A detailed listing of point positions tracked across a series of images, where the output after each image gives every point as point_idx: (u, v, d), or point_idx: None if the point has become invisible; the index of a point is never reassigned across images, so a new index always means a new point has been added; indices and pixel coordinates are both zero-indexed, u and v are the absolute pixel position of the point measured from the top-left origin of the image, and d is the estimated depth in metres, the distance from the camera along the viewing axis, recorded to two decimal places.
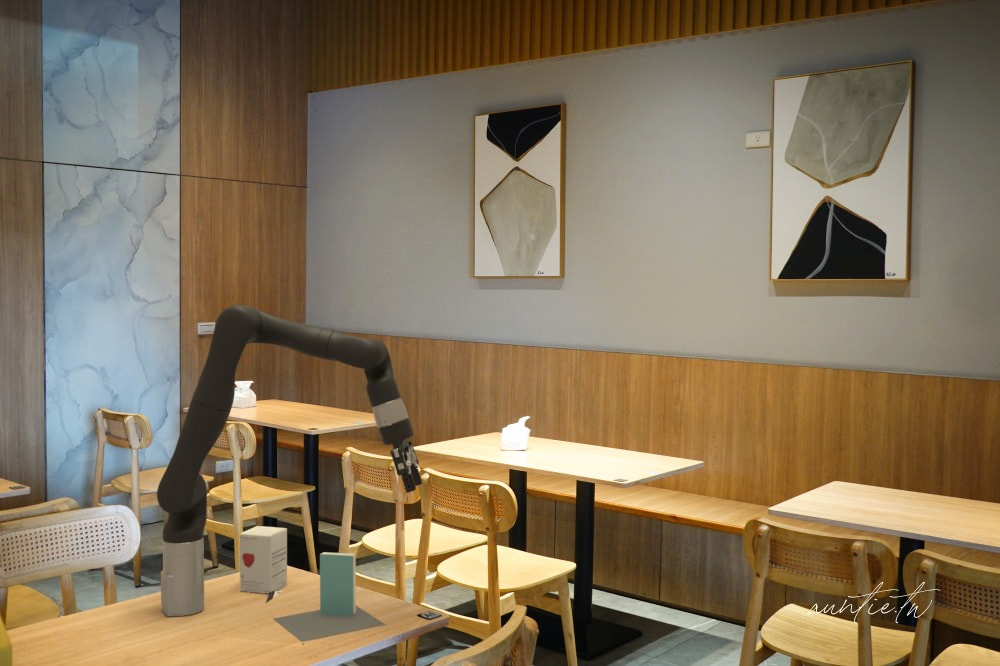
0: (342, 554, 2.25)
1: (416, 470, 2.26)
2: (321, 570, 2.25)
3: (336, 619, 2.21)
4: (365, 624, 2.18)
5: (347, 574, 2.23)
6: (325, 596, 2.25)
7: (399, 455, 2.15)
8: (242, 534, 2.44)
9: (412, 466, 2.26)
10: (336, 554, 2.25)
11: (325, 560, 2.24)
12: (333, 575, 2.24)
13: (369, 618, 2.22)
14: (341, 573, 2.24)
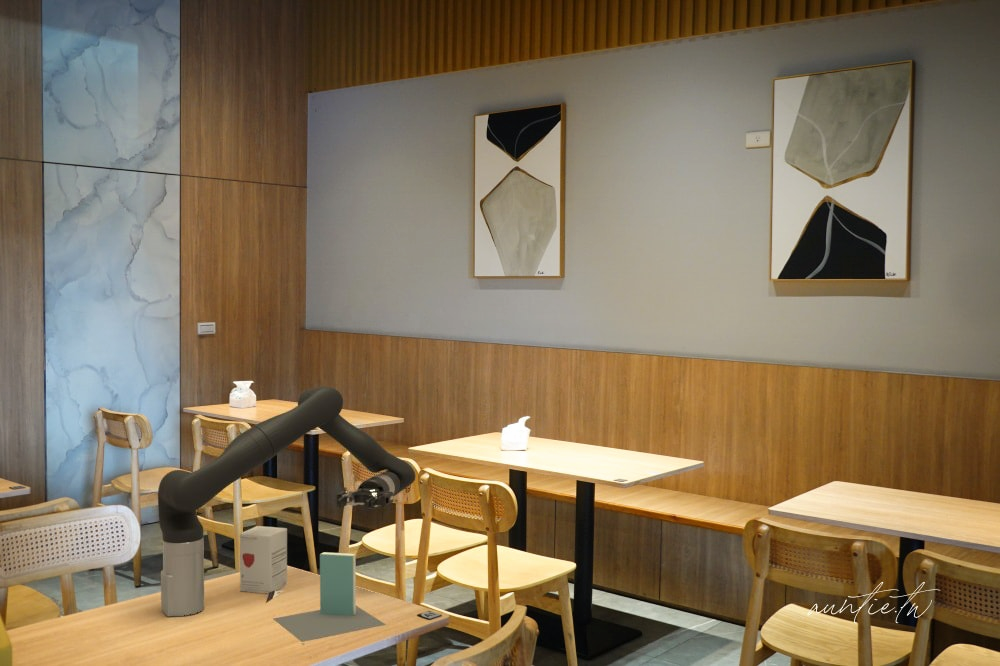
0: (342, 554, 2.25)
1: (346, 504, 2.39)
2: (321, 570, 2.25)
3: (336, 619, 2.21)
4: (365, 624, 2.18)
5: (347, 574, 2.23)
6: (325, 596, 2.25)
7: (391, 500, 2.42)
8: (242, 534, 2.44)
9: None
10: (336, 554, 2.25)
11: (325, 560, 2.24)
12: (333, 575, 2.24)
13: (369, 618, 2.22)
14: (341, 573, 2.24)
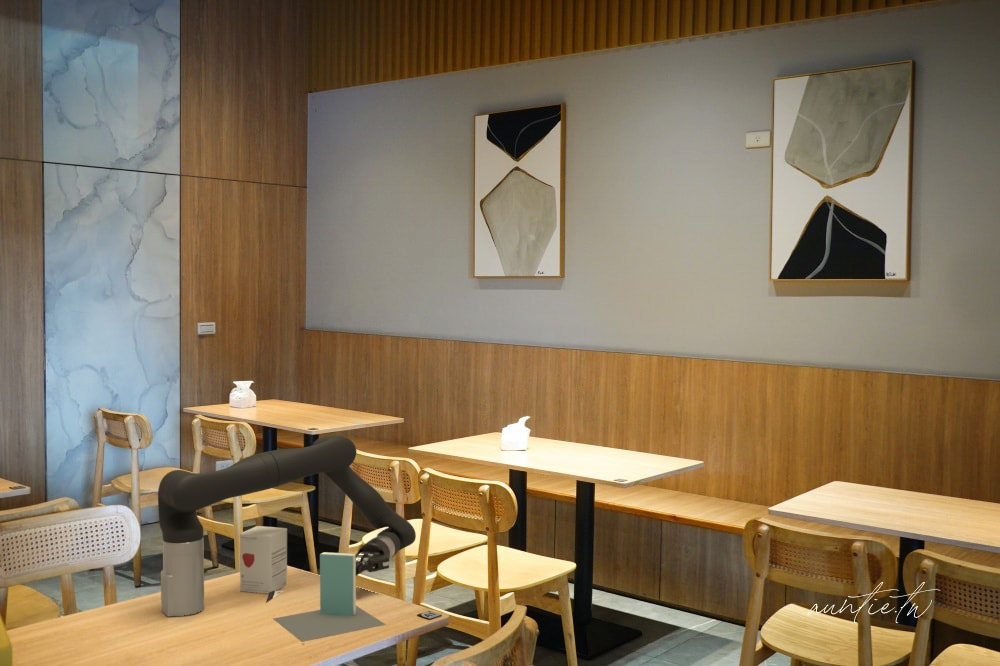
0: (342, 554, 2.25)
1: None
2: (321, 570, 2.25)
3: (336, 619, 2.21)
4: (365, 624, 2.18)
5: (347, 574, 2.23)
6: (325, 596, 2.25)
7: (384, 566, 2.41)
8: (242, 534, 2.44)
9: None
10: (336, 554, 2.25)
11: (325, 560, 2.24)
12: (333, 575, 2.24)
13: (369, 618, 2.22)
14: (341, 573, 2.24)
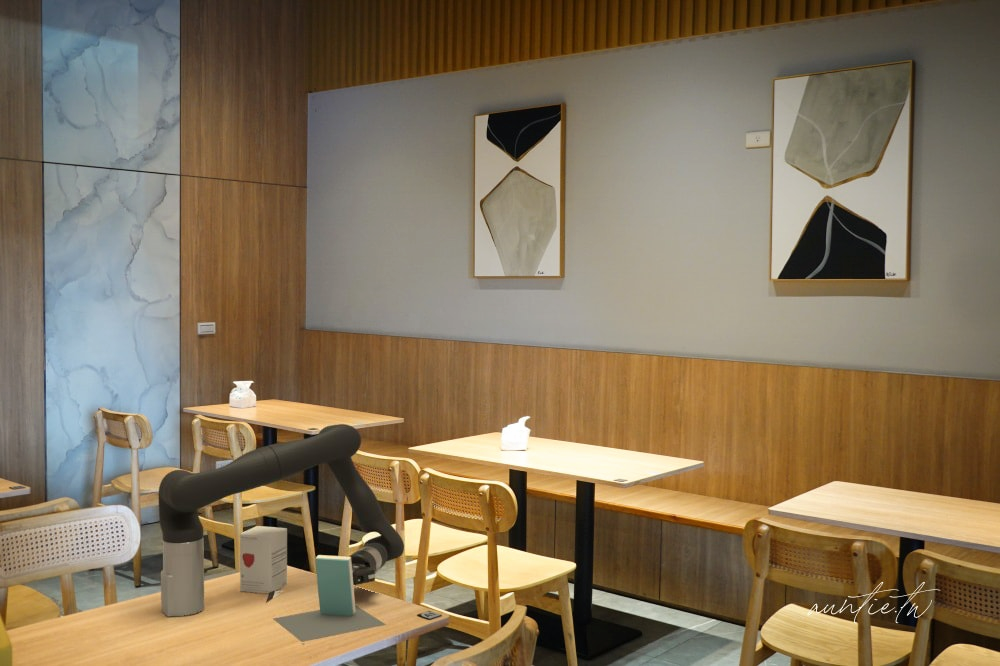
0: (337, 558, 2.22)
1: None
2: (317, 574, 2.23)
3: (336, 619, 2.21)
4: (365, 624, 2.18)
5: (344, 577, 2.22)
6: (324, 598, 2.24)
7: (369, 579, 2.31)
8: (242, 534, 2.44)
9: None
10: (331, 558, 2.22)
11: (321, 564, 2.22)
12: (330, 578, 2.22)
13: (369, 618, 2.22)
14: (338, 577, 2.22)
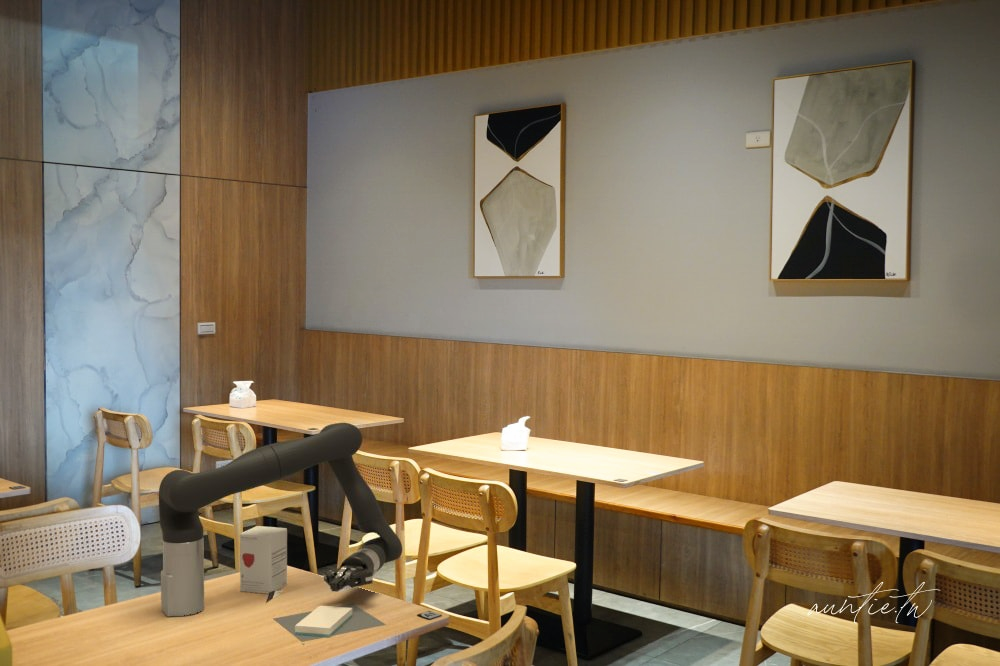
0: (317, 631, 2.10)
1: None
2: None
3: None
4: (365, 624, 2.18)
5: None
6: None
7: (367, 581, 2.29)
8: (242, 534, 2.44)
9: None
10: (311, 632, 2.10)
11: None
12: None
13: (369, 618, 2.22)
14: None
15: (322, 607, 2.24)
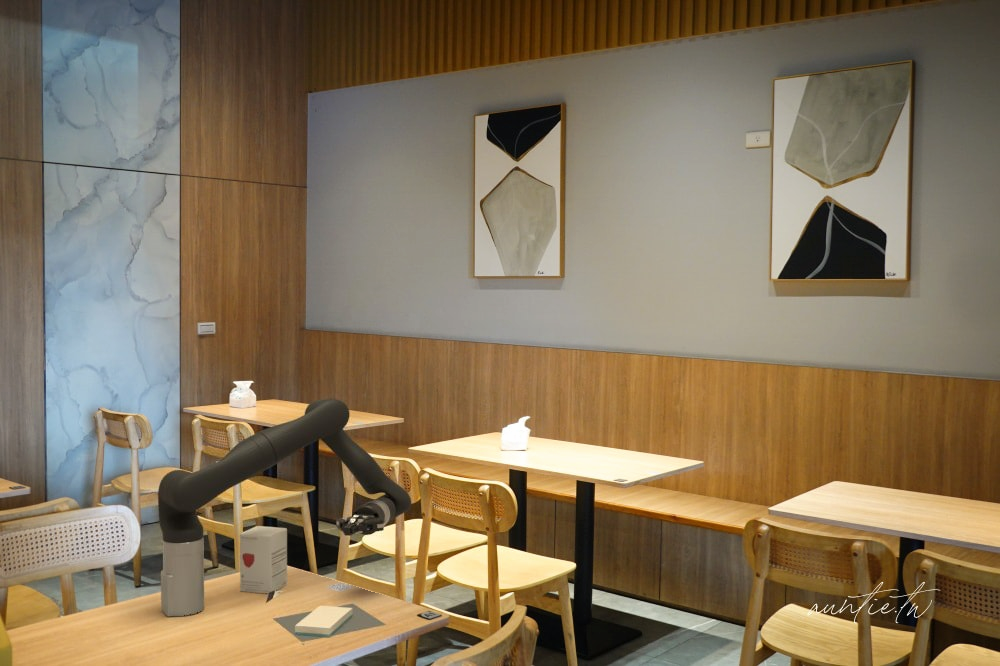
0: (317, 631, 2.10)
1: None
2: None
3: None
4: (365, 624, 2.18)
5: None
6: None
7: (378, 528, 2.38)
8: (242, 534, 2.44)
9: None
10: (311, 632, 2.10)
11: None
12: None
13: (369, 618, 2.22)
14: None
15: (322, 607, 2.24)
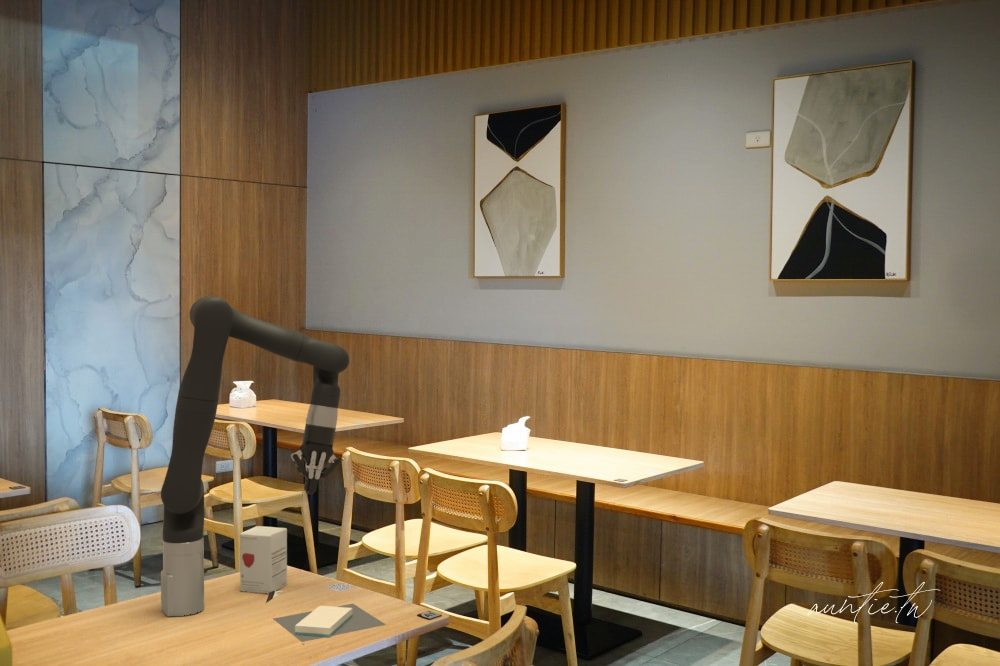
0: (317, 631, 2.10)
1: None
2: None
3: None
4: (365, 624, 2.18)
5: None
6: None
7: None
8: (242, 534, 2.44)
9: None
10: (311, 632, 2.10)
11: None
12: None
13: (369, 618, 2.22)
14: None
15: (322, 607, 2.24)
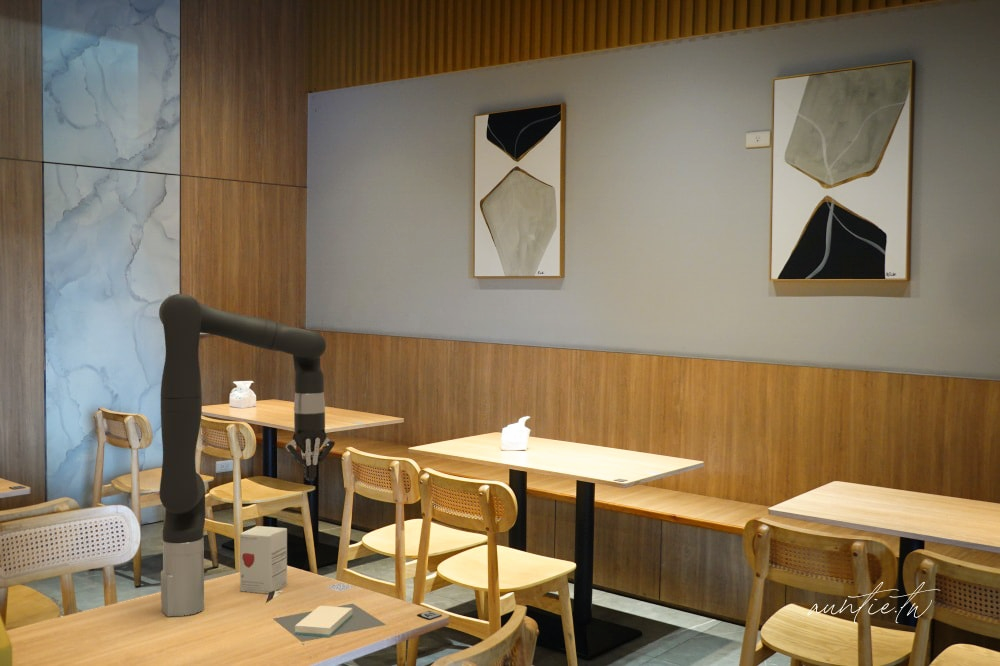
0: (317, 631, 2.10)
1: None
2: None
3: None
4: (365, 624, 2.18)
5: None
6: None
7: None
8: (242, 534, 2.44)
9: None
10: (311, 632, 2.10)
11: None
12: None
13: (369, 618, 2.22)
14: None
15: (322, 607, 2.24)
